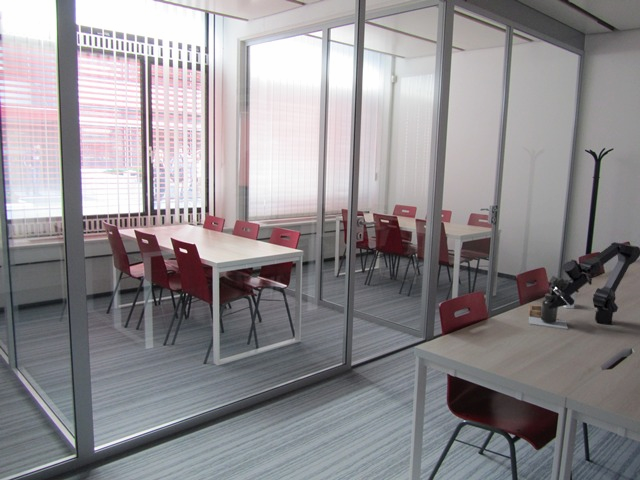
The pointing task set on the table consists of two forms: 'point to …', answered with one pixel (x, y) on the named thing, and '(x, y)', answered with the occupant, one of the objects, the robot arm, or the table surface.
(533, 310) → the tan wooden bay
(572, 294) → the medicine box
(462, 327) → the table surface
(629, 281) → the table surface
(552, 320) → the supplement bottle
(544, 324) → the slate mat
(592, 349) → the table surface
